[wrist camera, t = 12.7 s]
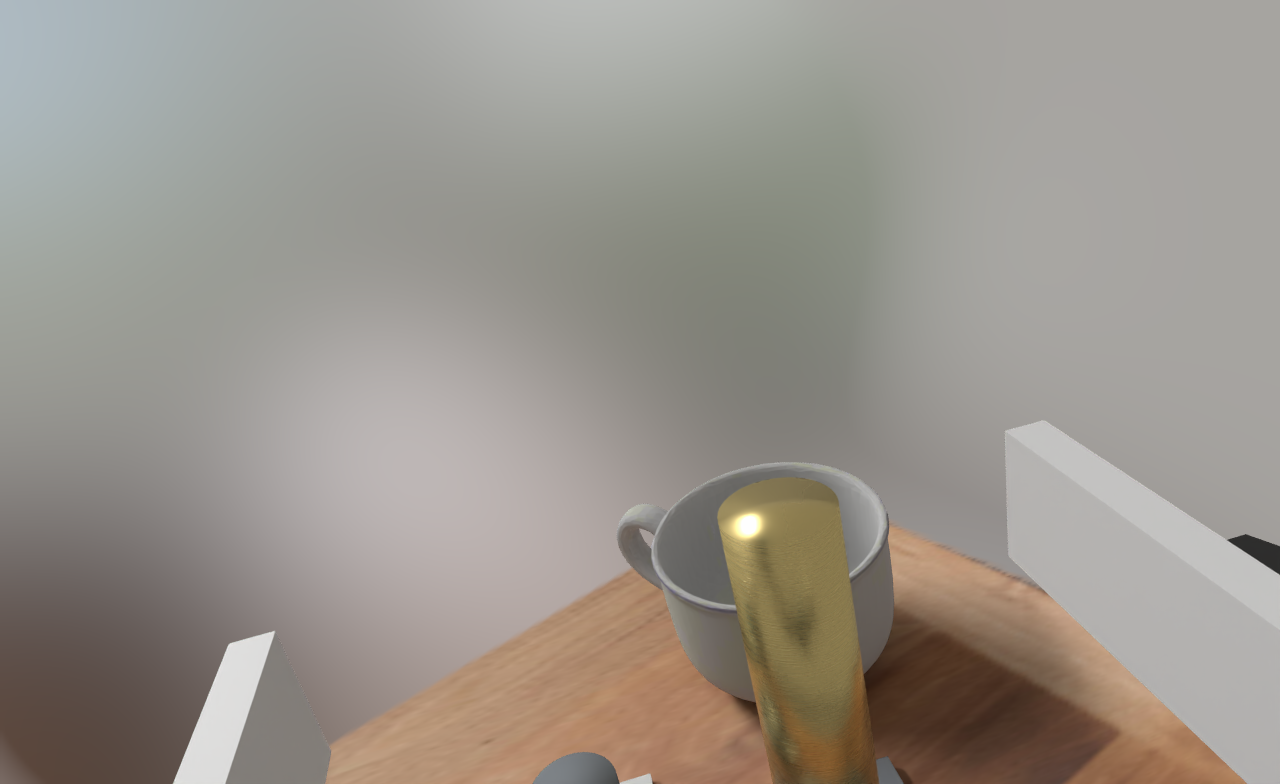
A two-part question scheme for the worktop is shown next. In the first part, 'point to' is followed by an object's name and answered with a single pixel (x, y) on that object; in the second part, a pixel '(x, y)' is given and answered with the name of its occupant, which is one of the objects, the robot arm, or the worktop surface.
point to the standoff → (799, 630)
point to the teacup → (700, 577)
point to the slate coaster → (887, 772)
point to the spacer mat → (584, 771)
